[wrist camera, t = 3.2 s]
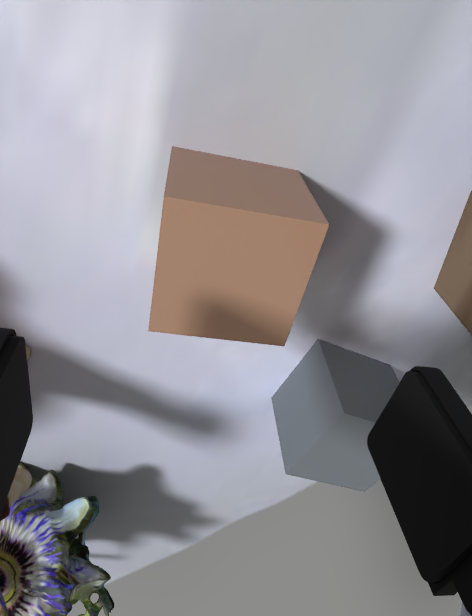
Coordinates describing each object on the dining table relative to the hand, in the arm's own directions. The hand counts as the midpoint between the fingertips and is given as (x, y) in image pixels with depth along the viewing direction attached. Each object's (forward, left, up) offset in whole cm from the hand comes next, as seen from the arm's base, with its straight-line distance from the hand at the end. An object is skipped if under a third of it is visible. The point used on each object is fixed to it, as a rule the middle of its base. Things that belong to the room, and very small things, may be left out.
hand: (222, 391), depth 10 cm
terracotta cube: (0, 0, -9) cm, 9 cm away
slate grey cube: (-8, +9, -9) cm, 15 cm away
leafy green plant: (+8, +23, -10) cm, 26 cm away
